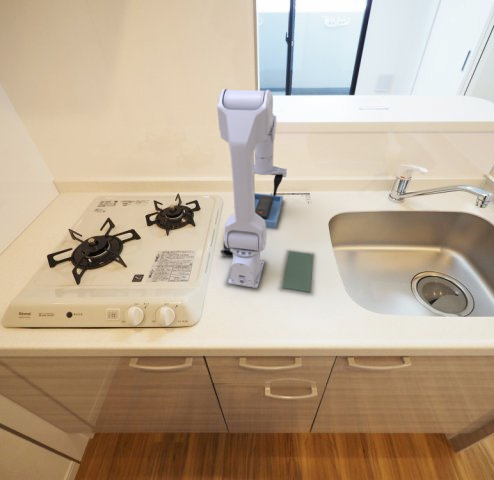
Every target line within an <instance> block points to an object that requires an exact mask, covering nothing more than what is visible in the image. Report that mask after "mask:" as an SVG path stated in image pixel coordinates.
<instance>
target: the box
mask: <svg viewBox="0 0 494 480" xmlns="http://www.w3.org/2000/svg"><path fill="white" fill-rule="evenodd" d="M261 195H265V196H273V194H266V193H257V192H255V210H256V207H257V204H258V202H259V199H260V196H261ZM283 201H284V196H283V195H277V194H276V196H273V203H272V206H271V209H270V212H269V216H268V219H267V220H265V223H266V228H272V229H276V228H277V225H278V221H279V217H280V214H281V210H282V206H283Z"/></svg>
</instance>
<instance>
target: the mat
mask: <svg viewBox="0 0 494 480" xmlns="http://www.w3.org/2000/svg"><path fill="white" fill-rule="evenodd" d="M313 259H314V254H313V253H308V252H307V253H306V252H299V251H293V250H289V251H288V256H287V260H286V261H287V263H286V269H285V274H284V279H283V285H282V289H285V290H293V291H298V292H304V293H311V287H312V272H313V271H312V270H313Z"/></svg>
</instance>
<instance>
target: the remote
mask: <svg viewBox="0 0 494 480" xmlns="http://www.w3.org/2000/svg"><path fill="white" fill-rule="evenodd" d="M272 203H273V196H265V195H261V196H260V199H259V202H258V204H257V207H256V210H255V213H256V214H257V215H259V216H260V217H261V218H263V219H264V220H267V219H268V216H269V212H270V209H271V206H272Z"/></svg>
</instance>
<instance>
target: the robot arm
mask: <svg viewBox="0 0 494 480" xmlns="http://www.w3.org/2000/svg"><path fill="white" fill-rule="evenodd" d="M216 109H217V118H218V130H219V132H220V138H221V139H222V140H224V141H225V142H226V143H228V149H229V154H230V155H229V157H230V165H231V179H232V191H233V205H234V213H233V214H231V215H230V216H229V217H227V219H226V221H225V224H224V227H223V229H224V232H223V245H224V244H225V245H226V247H227V248H230V252H233V256H232V262H231V264H230V267H229V271H230V276H229V277H228V278H229V279H228V284H230V285H236V286H242V287H247V288H253V289H254V288H255V289H257V288H258V287H259V283H260V280H261V277H262V272H263V268H264V265H265V262H264V261H263V260H261V252H263V251H264V250H265V248H266V242H267V234H268V233H267V227H266V223H265V220H264V219H263V218H261V217H260V216H259V215H257V214H256V213H255V193H256V190H255V188H256V187H255V183H256V182H255V174H256V175H259V176H274V178H273V194H272V195H273V196H276V195H277V193H278V189H279V186H280V184H281V182H282V181H283V178H286V177H287V174H288V169H287V168H283V167H280V166H279V167H278V166H274V147H275V144H274V143H275V139H276V131H277V115H276V114H275V115H274V113H273V111H274V110H273V109H274V95H273V93H272V92H271V90H270V89H266V90H253V89H252V90H250V89H228V88H223V89H222V90H221V92H219V95H218V99H217V108H216Z"/></svg>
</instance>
